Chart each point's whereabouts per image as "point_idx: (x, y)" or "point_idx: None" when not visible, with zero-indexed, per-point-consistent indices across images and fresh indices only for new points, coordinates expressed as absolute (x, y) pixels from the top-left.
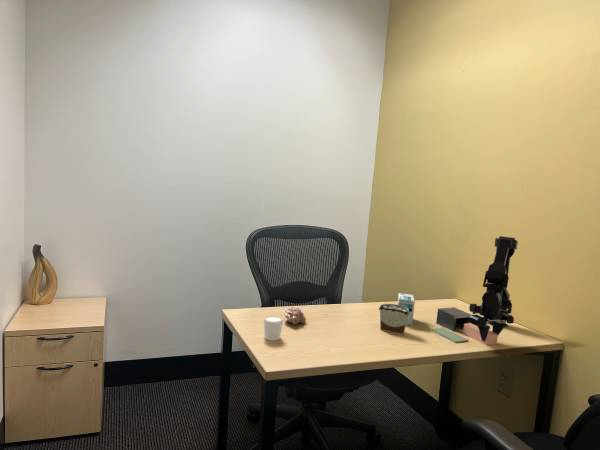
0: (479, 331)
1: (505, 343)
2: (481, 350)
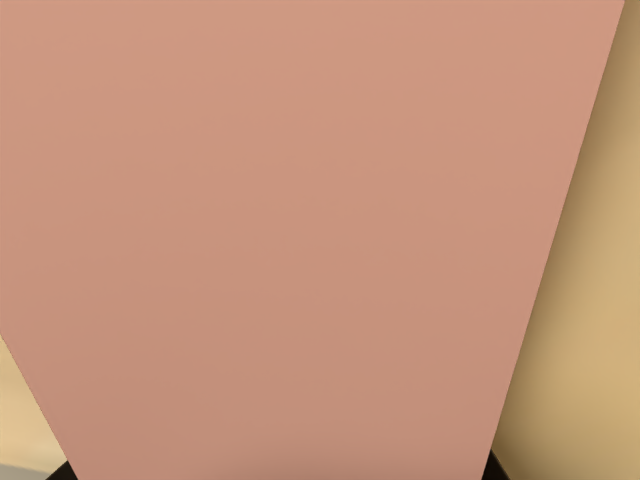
0: (70, 441)
1: (629, 443)
2: (42, 468)
